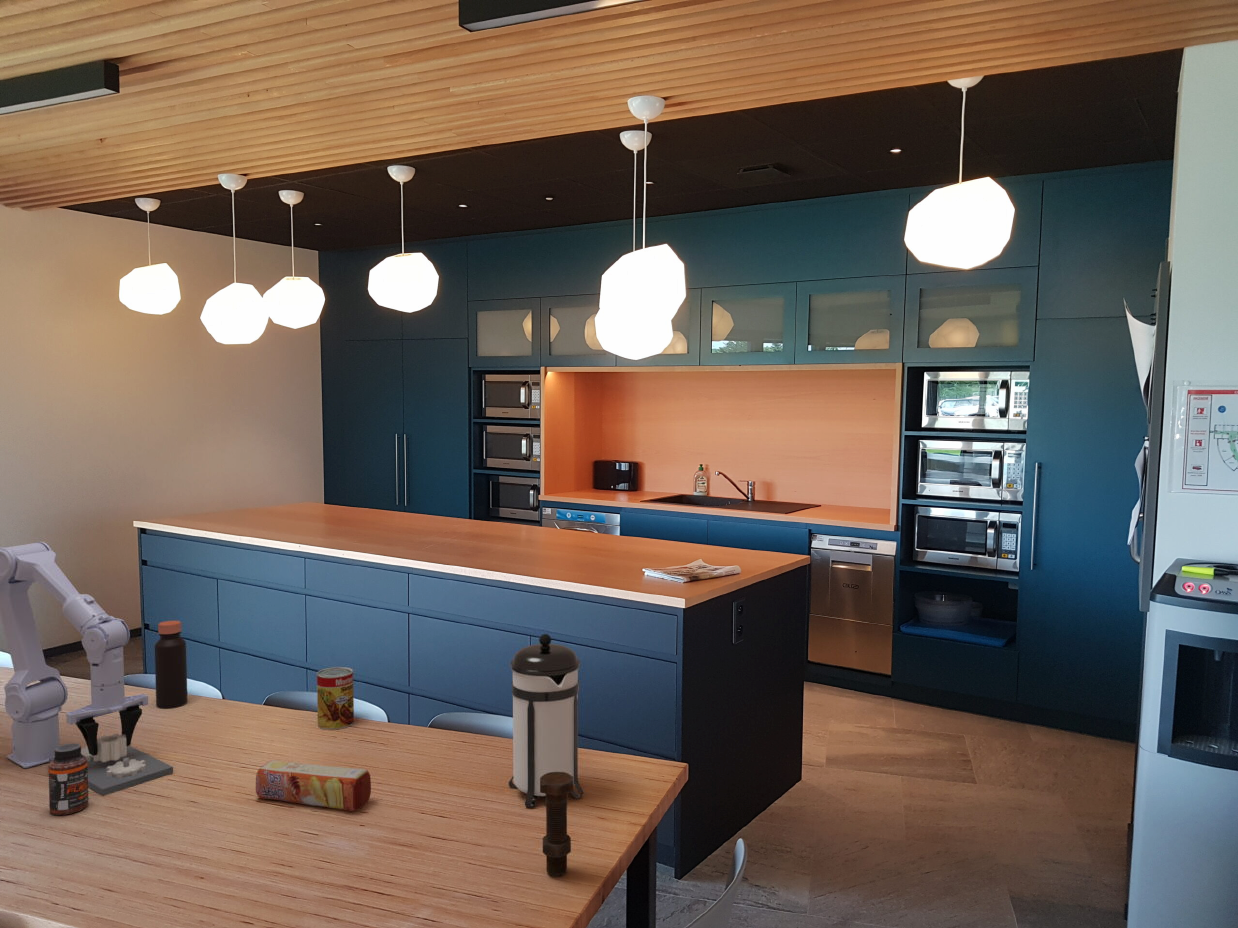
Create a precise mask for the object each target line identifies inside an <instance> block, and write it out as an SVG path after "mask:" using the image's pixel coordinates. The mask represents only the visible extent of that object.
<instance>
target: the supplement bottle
mask: <svg viewBox="0 0 1238 928" xmlns="http://www.w3.org/2000/svg"><path fill="white" fill-rule="evenodd" d="M81 749H82V746H81V744H80V743H76V742H73V743H65V744H62V745H60V746H58V747H57V748H55V755H54V756H55V758H54V760H52V761H51V762H50V764H49V763H48V795H49V798H48V800H49V801H48V802H49V804H48V805H49V812H50V813H51V814H53V815H56V816H57V815H58V816H59V815H60V816H65V815H66V816H67V815H71V814H74V813H77V812H78V813H79V812H80V811H83V809H85V808H86V807H87V806H88V805H89V787H88V766H87V758H86V757H85V756H84V755H82V754H81Z"/></svg>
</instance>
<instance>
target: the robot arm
mask: <svg viewBox="0 0 1238 928" xmlns="http://www.w3.org/2000/svg"><path fill="white" fill-rule="evenodd" d="M35 582H37V583H38V584H40V586H41V587H43V588H44V589H45V590H46V591H47V592H48V593H49V594H50V595H51V596H52V597H54V598H55V599H56V600H57V601H58V602H59V603H60V604H61V605H62V610H61V612H62V613H61V614H62V615H63V616H64V617H65V619H66V620H67V621H68V622H69V623H70V624H71V625H72V626H73V627H74V628H75V629H76V631H77V632H78V633H79V634H80V635H81V636H82V638H81V645H82V647H83V649H84V651H85V653H86V659H87V660H88V661H87V662H88V663H89V664H90V665H89V668H90V669H89V670H90V695H91V696H90V699H91V700H90V701H91V703H90V704H89V705H86V706H83V707H80V708H78V709H74V710H72V711H69V712H66V714H65V718H66V721H65V722H66V723H67V724H68V725H76V727H77V728H78V730H79V731H80V733H81V735H82V737H83V738H84V742H85V744H86V746H87V747H88V751H89V754H91V755H93V756H95V755H97V752H98V747H97V739H98V731H99V725H100V724H99V723H98V722H96V719H94V718H98V717H101V716H105V715H109V714H114V713H117V712H118V713H119V718H120V725H121V726H120V727H121V735H126V745H127V746H131V744H132V738H133V735H134V732H135V728H136V726H137V724H138V722H139V719H140V718H141V716H142V714H143V709H142V708H140V707H141V706H142V707H145V706H149V695H147V694H145V693H141V694H136V695H131V696H125V667H124V663H125V661H124V646H126V645H127V644H128V643H129V641H130V637H131V635H130V629H129V628H130V627H129V626H128V625H127V624H126V621H125V620H124V619H121V618H117V617H114V616H113V615H109V614H108V613H107V612H106V611H105V610H104V609H103V608H102V607H101V606H100V605H99V604H98V603H97V601H96V600H95V598H94V597H93V596H92V595H90V594H88V593H86V594H85V593H83V594H82V593H79V591H78V590H77V589H76V588H75V586H74V585H73V584H72V583H71V581H70V580H69V579H68V577H67V576H66V575H65V574H64V572H63V571H62V570H61V568H60V567H59V566H58V565H57V554H56V552H55V551H53V550H52V548H51V547H50V546H49V544H48V543H46V542H44V541H36V542H32V543H27V544H22V545H21V544H20V545H15V546H8V547H0V620H1V624H2V627H3V631H4V634H5V635H4V636H5V640H6V643H7V647H8V652H9V655H10V660H11V662H12V666H13V667H12V668H13V671H14V674H13V675H12V677H11V678H10V679H9V680H8V682H7V683H6V684H5V685H4V687H3V689H4V692H5V693H4V694H5V700H4V708H5V710H6V713H7V715H8V716H9V717H10V718H11V719H12V721H13V722H12V723H11V728H10V729H11V747H12V748H11V750H12V753H11V754H8V755H7V756H6V758H7V759H8V760H10V761H12V762H13V763H16V765H18V766H19V767H22V768H23V769H28V768H32V767H35V766H39V765H42V764H45V763H46V764H47V763H49V758H53V757H55V756H54V755H55V748H57V747H58V746H61V745H60V742H61V741H60V722H59V720H60V719H59V716H60V715H59V713H60V712H62V710H63V709H62V706H64V705H65V704H66V703H67V700H68V697H69V693H68V687H67V686H66V685H67V684H65V682H64V681H63V679H62V678H61V675H60V671H59V670H58V669H56V668H54V667H51V666H49V665H47V663H46V659H45V656H44V651H43V648H42V645H41V640H40V636H39V632H38V629H37V625H36V621H35V617H34V616H35V615H34V614H33V613H34V612H33V609H32V606H31V601H30V598H29V594H28V593H29V592H28V591H29V589H30V588H31V586H32V585H33V584H34V583H35ZM38 681H39V682H38ZM35 682H36V683H35ZM32 683H33V684H32ZM29 684H30V685H29Z"/></svg>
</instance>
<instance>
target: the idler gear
mask: <svg viewBox="0 0 1238 928" xmlns="http://www.w3.org/2000/svg"><path fill="white" fill-rule="evenodd" d="M97 747H98V752H97V755H95V756H94V761H102V762H107V761H110V760H118V759H119V758H120V757H122V756H126V755H127V745H126V735H122V734H119V733H113V734H111V735H106V734H105V735H102V736H100V737H99V738H98V737H97Z"/></svg>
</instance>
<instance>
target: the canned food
mask: <svg viewBox="0 0 1238 928" xmlns="http://www.w3.org/2000/svg"><path fill="white" fill-rule="evenodd" d="M316 687H317V688H316V692H317V695H316V698H317V699H316V700H317V727H318V728H320V729H322V730H327V731H329V730H330V731H334V730H342V729H345V728H348V727H350V726H352V725H353V724H354V722H355V716H354V715H355V712H354V711H355V710H354V708H355V706H354V705H355V702H354V700H355V699H354V670H353V668H350V667H346V666H334V667H327V668H324V669H320V670H318V671H317V672H316Z"/></svg>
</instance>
